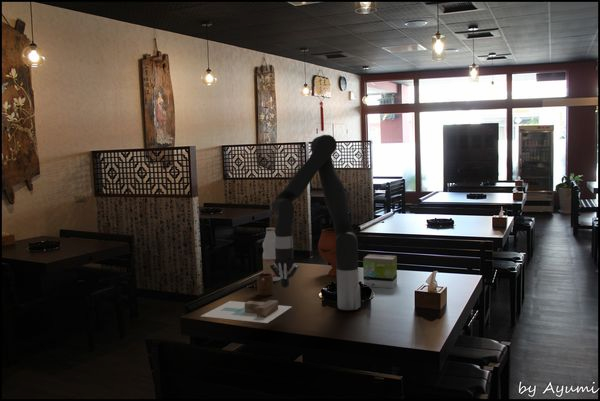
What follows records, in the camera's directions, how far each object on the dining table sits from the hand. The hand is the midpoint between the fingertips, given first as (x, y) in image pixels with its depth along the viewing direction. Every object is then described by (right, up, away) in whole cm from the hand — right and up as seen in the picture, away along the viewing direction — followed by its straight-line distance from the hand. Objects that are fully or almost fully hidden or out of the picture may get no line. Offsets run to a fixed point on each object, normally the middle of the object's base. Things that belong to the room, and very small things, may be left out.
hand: (285, 287), depth 225 cm
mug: (-11, -10, +34) cm, 37 cm away
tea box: (+47, -7, +45) cm, 65 cm away
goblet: (+26, -5, +73) cm, 78 cm away
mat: (-17, -12, +8) cm, 22 cm away
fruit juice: (-9, -7, +66) cm, 67 cm away
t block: (-11, -12, +6) cm, 17 cm away
